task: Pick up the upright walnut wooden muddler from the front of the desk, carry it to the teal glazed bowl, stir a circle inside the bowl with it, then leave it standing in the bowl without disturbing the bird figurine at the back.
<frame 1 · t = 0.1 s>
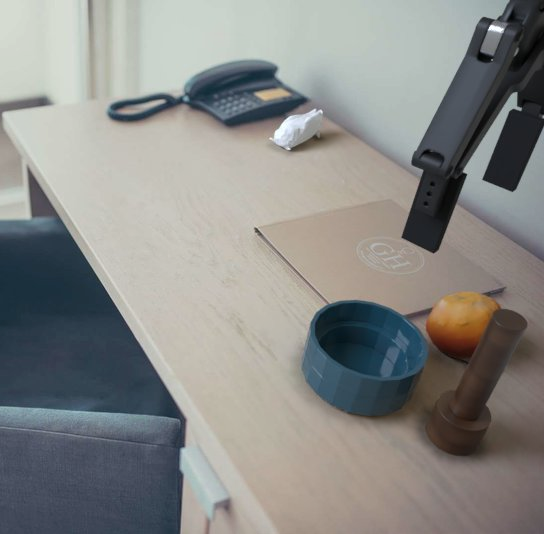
hand: (461, 212, 53), 25 cm above the table, tool pointing down, fingers open, 13 cm apart
bowl: (355, 376, 71), on the table
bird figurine: (295, 143, 116), on the table
muddler: (451, 435, 65), on the table
fruit: (456, 345, 76), on the table
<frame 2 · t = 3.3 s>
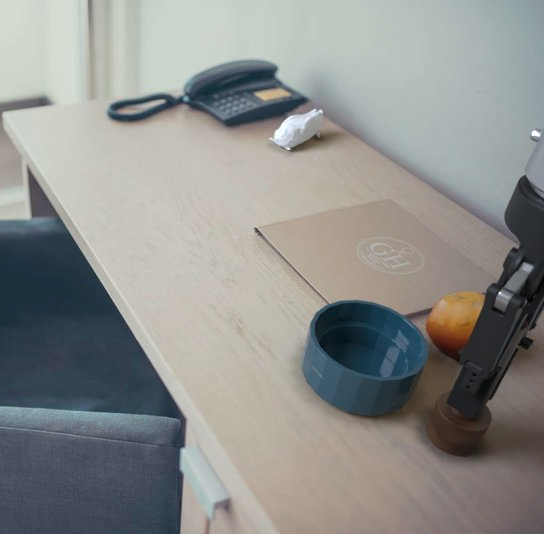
hand: (469, 399, 62), 6 cm above the table, tool pointing down, fingers closed on muddler, 3 cm apart
muddler: (451, 435, 65), on the table, touching gripper
everything else where it was.
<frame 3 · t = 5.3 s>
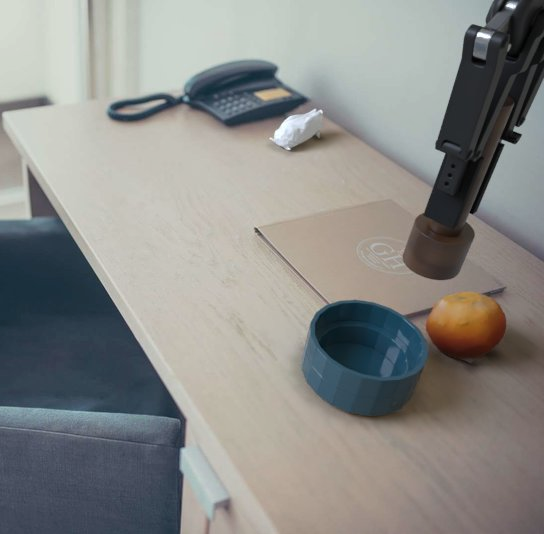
hand: (450, 212, 55), 23 cm above the table, tool pointing down, fingers closed on muddler, 3 cm apart
muddler: (430, 263, 59), point 18 cm above the table, touching gripper
everything else where it was.
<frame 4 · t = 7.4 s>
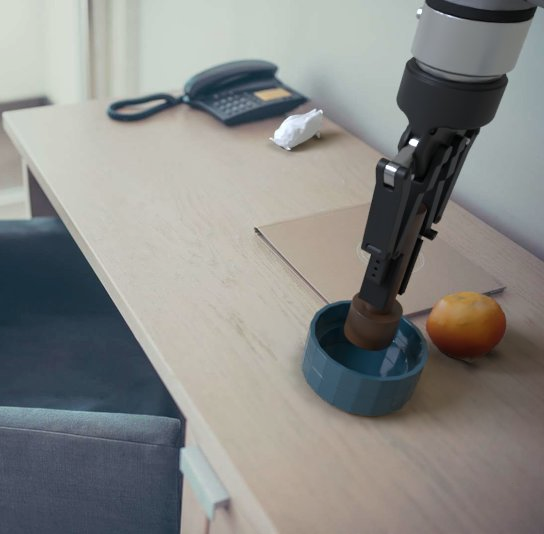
hand: (381, 294, 64), 12 cm above the table, tool pointing down, fingers closed on muddler, 3 cm apart
muddler: (368, 334, 68), point 6 cm above the table, touching gripper
everything else where it was.
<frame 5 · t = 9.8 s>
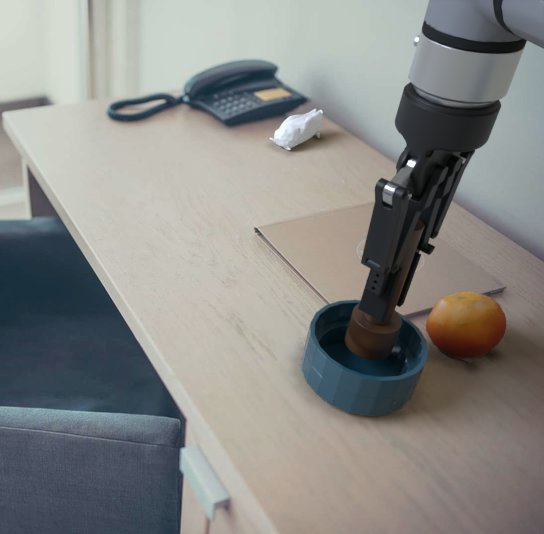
hand: (381, 305, 67), 9 cm above the table, tool pointing down, fingers closed on muddler, 3 cm apart
muddler: (368, 343, 70), point 4 cm above the table, touching gripper
everything else where it was.
when the fingers open (6 cm above the table, at t = 11.6 s): muddler stays where it is, resting on bowl.
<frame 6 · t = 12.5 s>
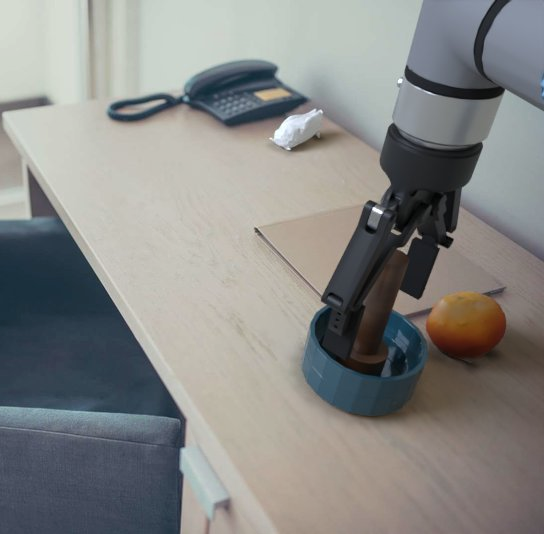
hand: (374, 320, 66), 8 cm above the table, tool pointing down, fingers open, 13 cm apart
muddler: (356, 371, 71), point 1 cm above the table, touching bowl
everything else where it was.
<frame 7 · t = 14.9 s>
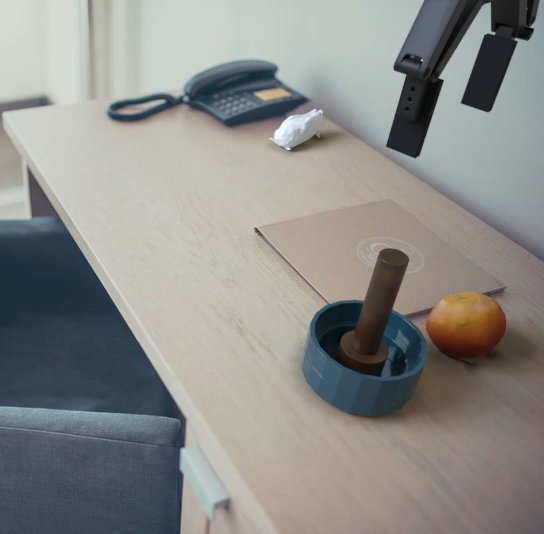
hand: (441, 128, 57), 28 cm above the table, tool pointing down, fingers open, 13 cm apart
nothing on the table moved.
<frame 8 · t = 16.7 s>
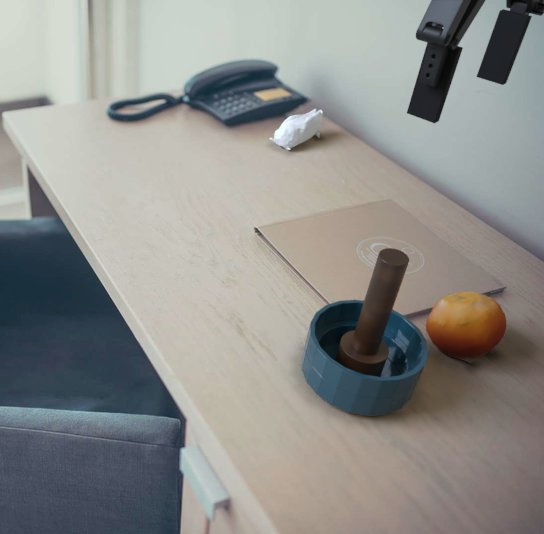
hand: (458, 97, 61), 29 cm above the table, tool pointing down, fingers open, 13 cm apart
nothing on the table moved.
at the end: muddler 0.1 cm off-centre in the bowl, point 0.6 cm above the bowl's base; muddler tilted 0°; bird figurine moved 0.2 cm from its start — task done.
